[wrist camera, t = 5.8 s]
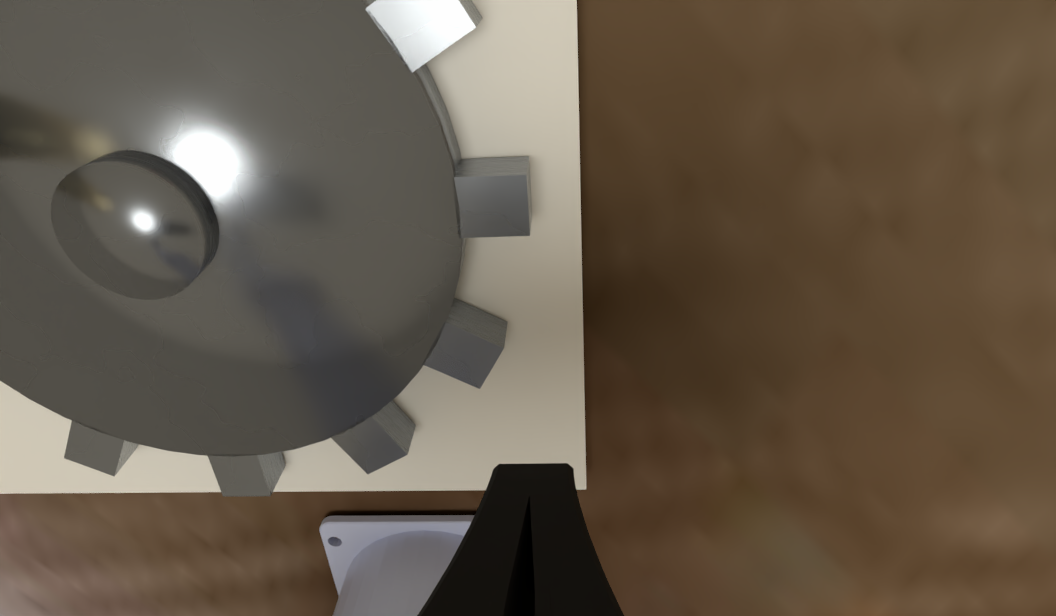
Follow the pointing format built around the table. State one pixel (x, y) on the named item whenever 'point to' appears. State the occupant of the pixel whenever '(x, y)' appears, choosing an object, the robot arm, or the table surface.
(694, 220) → the table surface
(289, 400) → the sprocket
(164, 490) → the base board
